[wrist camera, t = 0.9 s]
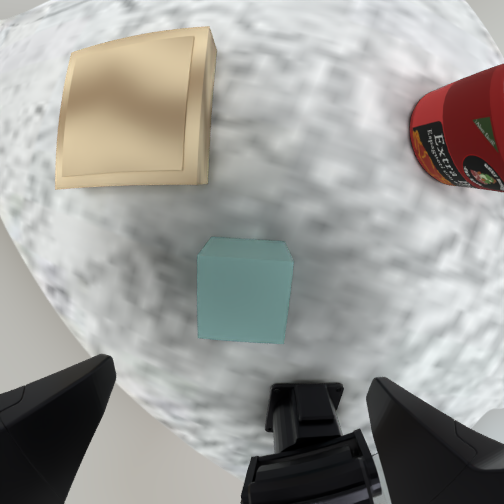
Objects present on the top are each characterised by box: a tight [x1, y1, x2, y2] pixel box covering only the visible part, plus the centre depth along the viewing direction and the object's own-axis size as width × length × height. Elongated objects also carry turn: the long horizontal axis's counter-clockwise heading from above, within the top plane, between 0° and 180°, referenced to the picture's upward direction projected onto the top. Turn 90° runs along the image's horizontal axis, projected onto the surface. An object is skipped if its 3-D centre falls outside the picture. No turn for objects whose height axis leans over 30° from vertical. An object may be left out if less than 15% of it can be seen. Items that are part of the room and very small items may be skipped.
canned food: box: [410, 64, 504, 192], centre depth 12 cm, size 8×8×11 cm
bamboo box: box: [55, 26, 217, 190], centre depth 15 cm, size 10×10×4 cm
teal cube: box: [197, 237, 294, 344], centre depth 18 cm, size 5×5×5 cm
